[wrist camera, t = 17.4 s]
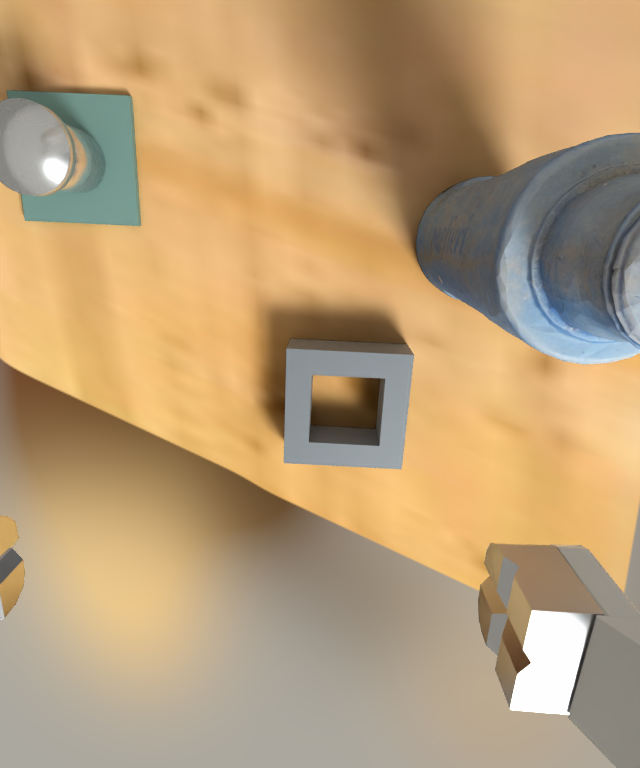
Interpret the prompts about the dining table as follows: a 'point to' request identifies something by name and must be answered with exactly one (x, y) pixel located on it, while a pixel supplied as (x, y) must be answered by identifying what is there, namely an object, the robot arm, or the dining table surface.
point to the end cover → (45, 152)
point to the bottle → (547, 249)
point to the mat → (117, 140)
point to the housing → (347, 442)
